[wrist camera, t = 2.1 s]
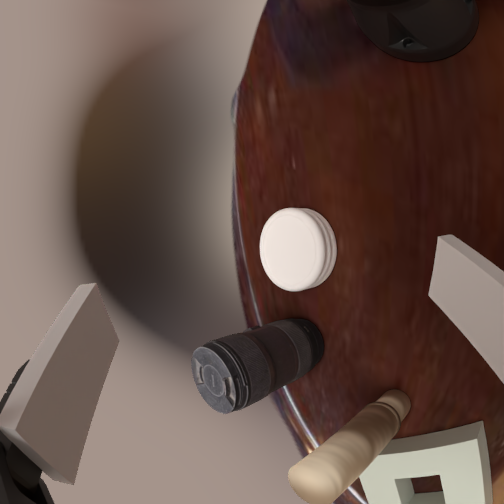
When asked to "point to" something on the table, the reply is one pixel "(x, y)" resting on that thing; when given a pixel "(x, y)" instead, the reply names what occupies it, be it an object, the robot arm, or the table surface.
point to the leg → (349, 450)
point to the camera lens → (255, 362)
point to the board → (432, 468)
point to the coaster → (297, 249)
